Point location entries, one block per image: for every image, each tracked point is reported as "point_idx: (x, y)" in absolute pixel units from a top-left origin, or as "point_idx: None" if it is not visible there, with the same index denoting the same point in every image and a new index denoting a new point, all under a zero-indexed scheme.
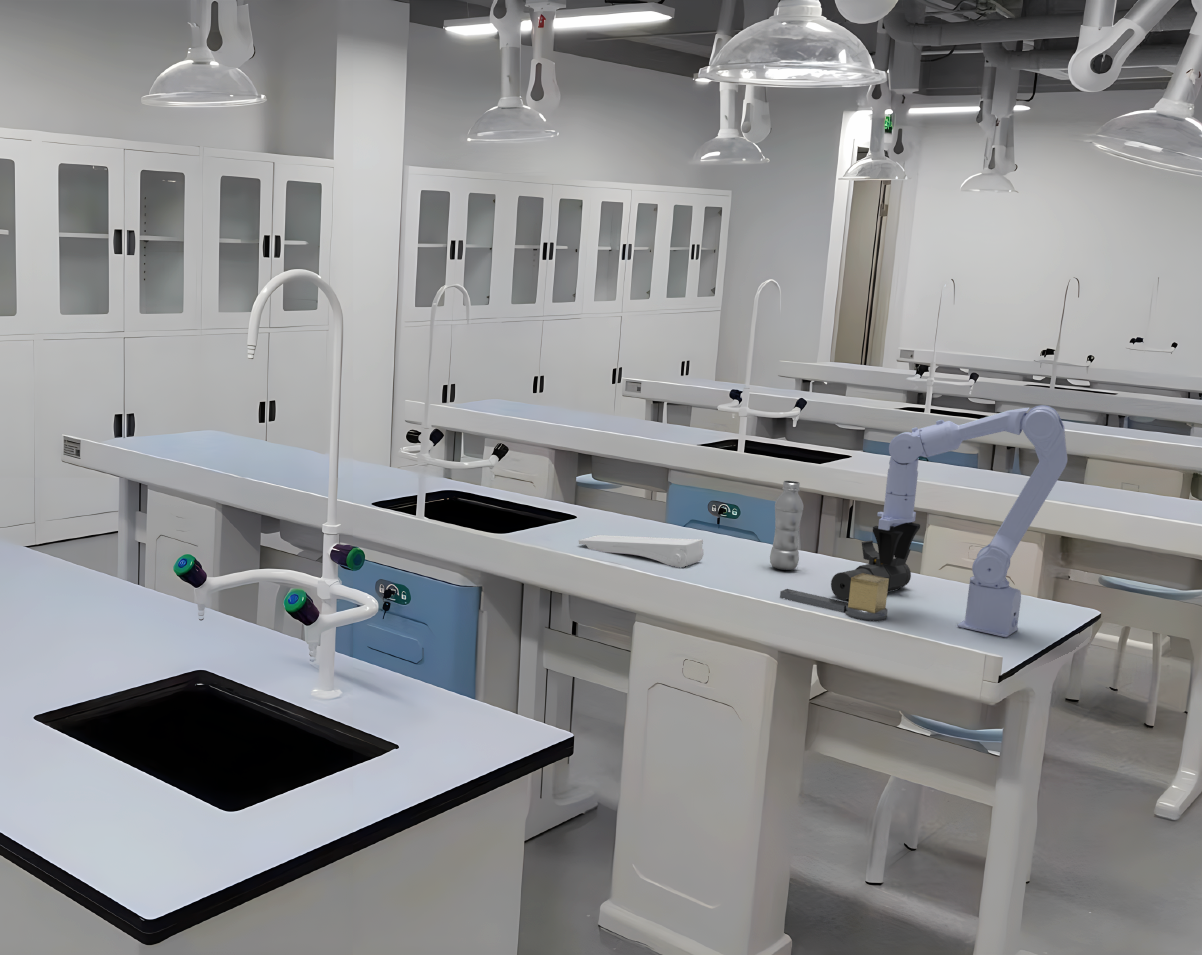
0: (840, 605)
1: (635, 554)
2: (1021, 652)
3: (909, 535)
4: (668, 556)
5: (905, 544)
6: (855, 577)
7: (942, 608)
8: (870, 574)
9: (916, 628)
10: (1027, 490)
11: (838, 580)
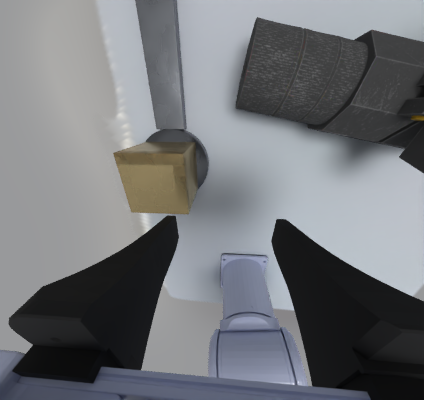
0: (155, 120)
1: None
2: (189, 296)
3: (302, 322)
4: None
5: (288, 276)
6: (124, 160)
7: (303, 223)
8: (329, 112)
9: (179, 227)
10: None
11: (250, 48)
